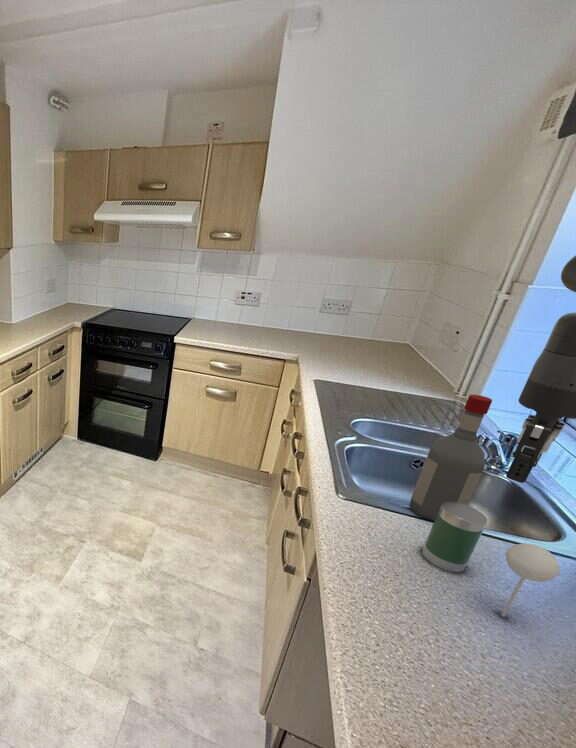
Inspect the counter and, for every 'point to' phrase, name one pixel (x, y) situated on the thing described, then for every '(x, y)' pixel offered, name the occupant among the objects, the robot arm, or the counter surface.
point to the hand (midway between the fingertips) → (520, 472)
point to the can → (454, 536)
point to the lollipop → (530, 566)
